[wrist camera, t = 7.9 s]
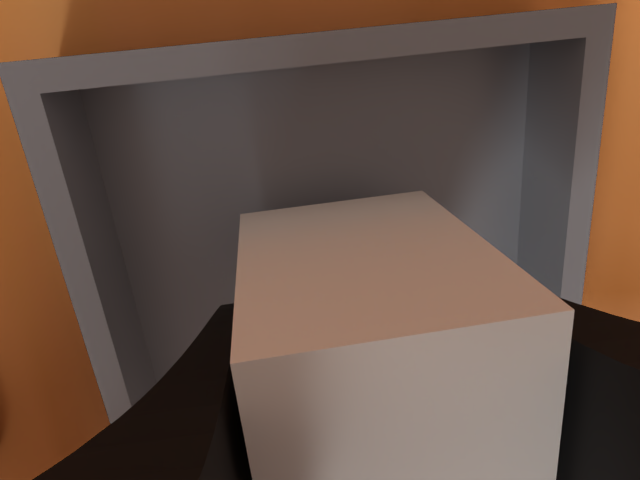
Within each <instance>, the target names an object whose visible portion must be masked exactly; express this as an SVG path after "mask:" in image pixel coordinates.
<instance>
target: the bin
mask: <svg viewBox="0 0 640 480" xmlns="http://www.w3.org/2000/svg"><path fill="white" fill-rule="evenodd" d="M616 6H617V3H611V4H600V5H590V6H580V7H570V8H559V9H549V10H539V11H528V12H518V13H508V14H497V15H487V16H477V17H467V18H456V19H446V20H436V21H425V22H415V23H405V24H394V25H384V26H374V27H364V28H353V29H343V30H333V31H322V32H312V33H302V34H291V35H281V36H271V37H260V38H250V39H240V40H230V41H219V42H209V43H199V44H188V45H178V46H168V47H157V48H147V49H137V50H127V51H116V52H106V53H96V54H85V55H75V56H65V57H54V58H44V59H34V60H24V61H13V62H3V63H0V77H1V81H2V84H3V87H4V90H5V93H6V96H7V99H8V103H9V106H10V109H11V112H12V115H13V118H14V122H15V125H16V128H17V131H18V134H19V137H20V140H21V144H22V147H23V150H24V153H25V156H26V159H27V163H28V166H29V169H30V172H31V175H32V178H33V181H34V185H35V188H36V191H37V194H38V197H39V200H40V203H41V207H42V210H43V213H44V216H45V219H46V222H47V226H48V229H49V232H50V235H51V238H52V241H53V244H54V248H55V251H56V254H57V257H58V260H59V263H60V267H61V270H62V273H63V276H64V279H65V282H66V285H67V289H68V292H69V295H70V298H71V301H72V304H73V308H74V311H75V314H76V317H77V320H78V323H79V326H80V330H81V333H82V336H83V339H84V342H85V345H86V349H87V352H88V355H89V358H90V361H91V364H92V367H93V371H94V374H95V377H96V380H97V383H98V386H99V390H100V393H101V396H102V399H103V402H104V405H105V408H106V412H107V415H108V418H109V421H110V424H112V423H113V422H114V421H115V420H117V419H118V418H119V417H120V416H122V415H123V414H124V413H125V412H126V411H127V410H128V409H130V408H131V407H132V406H133V405H134V404H135V403H136V402H137V401H139V400H140V399H141V398H142V397H143V396H144V395H145V394H146V393H147V392H148V391H149V390H150V389H151V388H152V387H153V386H154V385H155V384H156V383H157V382H158V381H159V380H160V379H161V378H162V377H163V376H164V375H165V374H166V373H167V372H168V370H169V369H170V368H171V367H172V366H173V365H174V364H175V363H176V362H177V360H178V359H179V358H180V357H181V356H182V355H183V353H184V352H185V351H186V350H187V348H188V347H189V346H190V345H191V343H192V342H193V341H194V340H195V338H196V337H197V336H198V334H199V333H200V332H201V330H202V329H203V328H204V326H205V325H206V324H207V322H208V321H209V319H210V318H211V317H212V315H213V314H214V313H215V311H216V310H217V309H218V308H219V306H220V305H225V304H232V303H234V299H235V284H236V270H237V256H238V242H239V227H240V214H245V213H252V212H260V211H268V210H276V209H283V208H291V207H299V206H306V205H314V204H322V203H329V202H337V201H345V200H353V199H360V198H368V197H376V196H383V195H391V194H399V193H407V192H414V191H423V192H425V193H426V194H427V195H428V196H430V197H431V198H432V199H434V200H435V201H436V202H437V203H439V204H440V205H441V206H443V207H444V208H445V209H446V210H448V211H449V212H450V213H451V214H453V215H454V216H455V217H457V218H458V219H459V220H460V221H462V222H463V223H464V224H466V225H467V226H468V227H469V228H471V229H472V230H473V231H474V232H476V233H477V234H478V235H480V236H481V237H482V238H483V239H485V240H486V241H487V242H489V243H490V244H491V245H492V246H494V247H495V248H496V249H497V250H499V251H500V252H501V253H503V254H504V255H505V256H506V257H508V258H509V259H510V260H511V261H513V262H514V263H515V264H517V265H518V266H519V267H520V268H522V269H523V270H524V271H526V272H527V273H528V274H529V275H531V276H532V277H533V278H534V279H536V280H537V281H538V282H540V283H541V284H542V285H543V286H545V287H546V288H547V289H549V290H550V291H551V292H552V293H554V294H555V295H556V296H557V297H560V298H563V299H566V300H568V301H571V302H574V303H577V304H580V305H581V304H582V295H583V287H584V278H585V270H586V261H587V253H588V244H589V236H590V227H591V219H592V210H593V202H594V193H595V185H596V176H597V168H598V159H599V151H600V142H601V134H602V125H603V117H604V108H605V100H606V91H607V83H608V74H609V66H610V57H611V49H612V40H613V32H614V23H615V15H616Z"/></svg>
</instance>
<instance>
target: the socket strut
mask: <svg viewBox="0 0 640 480" xmlns="http://www.w3.org/2000/svg"><path fill="white" fill-rule="evenodd" d="M574 311H575V310H574V309H573V308H572V307H570V306H569V305H568V304H566V303H565V302H564V301H563V300H561V299H560V298H559V297H557V296H556V295H555V294H554V293H552V292H551V291H550V290H549V289H547V288H546V287H545V286H543V285H542V284H541V283H540V282H538V281H537V280H536V279H534V278H533V277H532V276H531V275H529V274H528V273H527V272H526V271H524V270H523V269H522V268H520V267H519V266H518V265H517V264H515V263H514V262H513V261H511V260H510V259H509V258H508V257H506V256H505V255H504V254H503V253H501V252H500V251H499V250H497V249H496V248H495V247H494V246H492V245H491V244H490V243H489V242H487V241H486V240H485V239H483V238H482V237H481V236H480V235H478V234H477V233H476V232H474V231H473V230H472V229H471V228H469V227H468V226H467V225H466V224H464V223H463V222H462V221H460V220H459V219H458V218H457V217H455V216H454V215H453V214H451V213H450V212H449V211H448V210H446V209H445V208H444V207H443V206H441V205H440V204H439V203H437V202H436V201H435V200H434V199H432V198H431V197H430V196H428V195H427V194H426V193H425V192H423V191H414V192H407V193H399V194H391V195H383V196H376V197H368V198H360V199H353V200H345V201H337V202H329V203H322V204H314V205H306V206H299V207H291V208H283V209H276V210H268V211H260V212H252V213H245V214H240V227H239V242H238V256H237V270H236V284H235V299H234V313H233V327H232V341H231V356H230V367H231V372H232V377H233V382H234V388H235V393H236V398H237V403H238V408H239V414H240V419H241V424H242V429H243V434H244V439H245V445H246V450H247V455H248V460H249V465H250V471H251V476H252V480H556V475H557V466H558V457H559V448H560V439H561V430H562V420H563V411H564V402H565V393H566V384H567V375H568V366H569V356H570V347H571V338H572V329H573V320H574Z"/></svg>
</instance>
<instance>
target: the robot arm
mask: <svg viewBox="0 0 640 480" xmlns="http://www.w3.org/2000/svg"><path fill="white" fill-rule="evenodd" d="M559 298H560V297H559ZM560 299H561V300H563V301H564V302H565V303H566V304H568V305H569V306H570V307H572V308H573V309H574V310H575V311H574V320H573V329H572V338H571V347H570V356H569V366H568V375H567V384H566V393H565V402H564V411H563V420H562V430H561V439H560V448H559V457H558V466H557V475H556V480H640V322H637V321H633V320H629V319H626V318H622V317H619V316H615V315H612V314H608V313H605V312H602V311H599V310H596V309H593V308H589V307H586V306H583V305H580V304H577V303H574V302H571V301H568V300H566V299H563V298H560ZM233 313H234V303H232V304H225V305H220V306H219V308H218V309H217V310H216V311H215V313H214V314H213V315H212V317H211V318H210V319H209V321H208V322H207V324H206V325H205V326H204V328H203V329H202V330H201V332H200V333H199V334H198V336H197V337H196V338H195V340H194V341H193V342H192V343H191V345H190V346H189V347H188V348H187V350H186V351H185V352H184V353H183V355H182V356H181V357H180V358H179V359H178V360H177V362H176V363H175V364H174V365H173V366H172V367H171V368H170V369H169V370H168V372H167V373H166V374H165V375H164V376H163V377H162V378H161V379H160V380H159V381H158V382H157V383H156V384H155V385H154V386H153V387H152V388H151V389H150V390H149V391H148V392H147V393H146V394H145V395H144V396H143V397H142V398H141V399H140V400H139V401H137V402H136V403H135V404H134V405H133V406H132V407H131V408H130V409H128V410H127V411H126V412H125V413H124V414H123V415H122V416H120V417H119V418H118V419H117V420H115V421H114V422H113V423H112V424H110V425H109V426H108V427H106V428H105V429H104V430H102V431H101V432H100V433H98V434H97V435H96V436H95V437H93V438H92V439H91V440H89V441H88V442H87V443H85V444H84V445H83V446H81V447H80V448H79V449H77V450H76V451H75V452H73V453H72V454H70V455H69V456H68V457H66V458H65V459H63V460H62V461H60V462H59V463H57V464H56V465H54V466H53V467H51V468H50V469H48V470H47V471H45V472H44V473H42V474H41V475H39V476H37V477H36V478H34V479H33V480H252V476H251V471H250V465H249V460H248V455H247V450H246V445H245V439H244V434H243V429H242V424H241V419H240V414H239V408H238V403H237V398H236V393H235V388H234V382H233V377H232V372H231V367H230V356H231V341H232V327H233Z"/></svg>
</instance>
